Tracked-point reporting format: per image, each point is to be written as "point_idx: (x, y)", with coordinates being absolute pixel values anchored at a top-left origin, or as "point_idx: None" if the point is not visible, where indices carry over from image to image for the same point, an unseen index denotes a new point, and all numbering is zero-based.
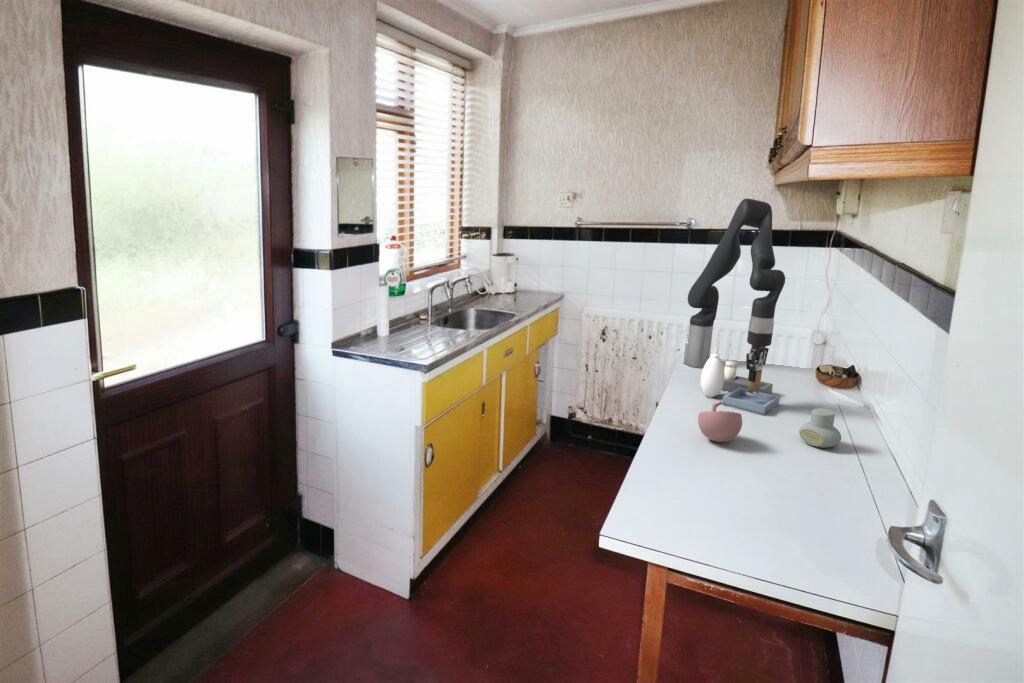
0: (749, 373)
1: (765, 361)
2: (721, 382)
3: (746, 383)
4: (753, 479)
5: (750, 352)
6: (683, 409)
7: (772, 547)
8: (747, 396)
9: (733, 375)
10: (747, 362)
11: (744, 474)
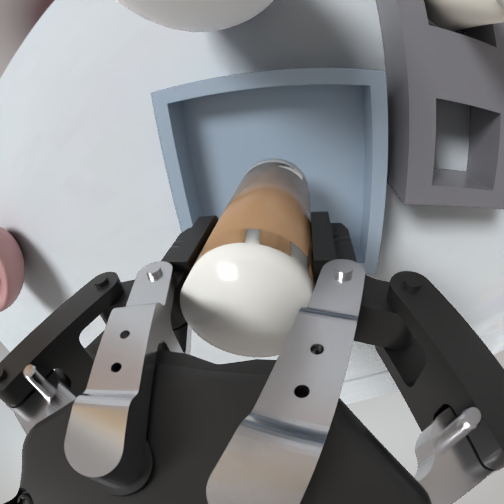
0: (164, 257)
1: (413, 358)
2: (182, 28)
3: (441, 96)
4: (18, 315)
5: (80, 419)
6: (39, 71)
7: (4, 337)
8: (361, 123)
9: (461, 13)
10: (50, 326)
11: (13, 306)
